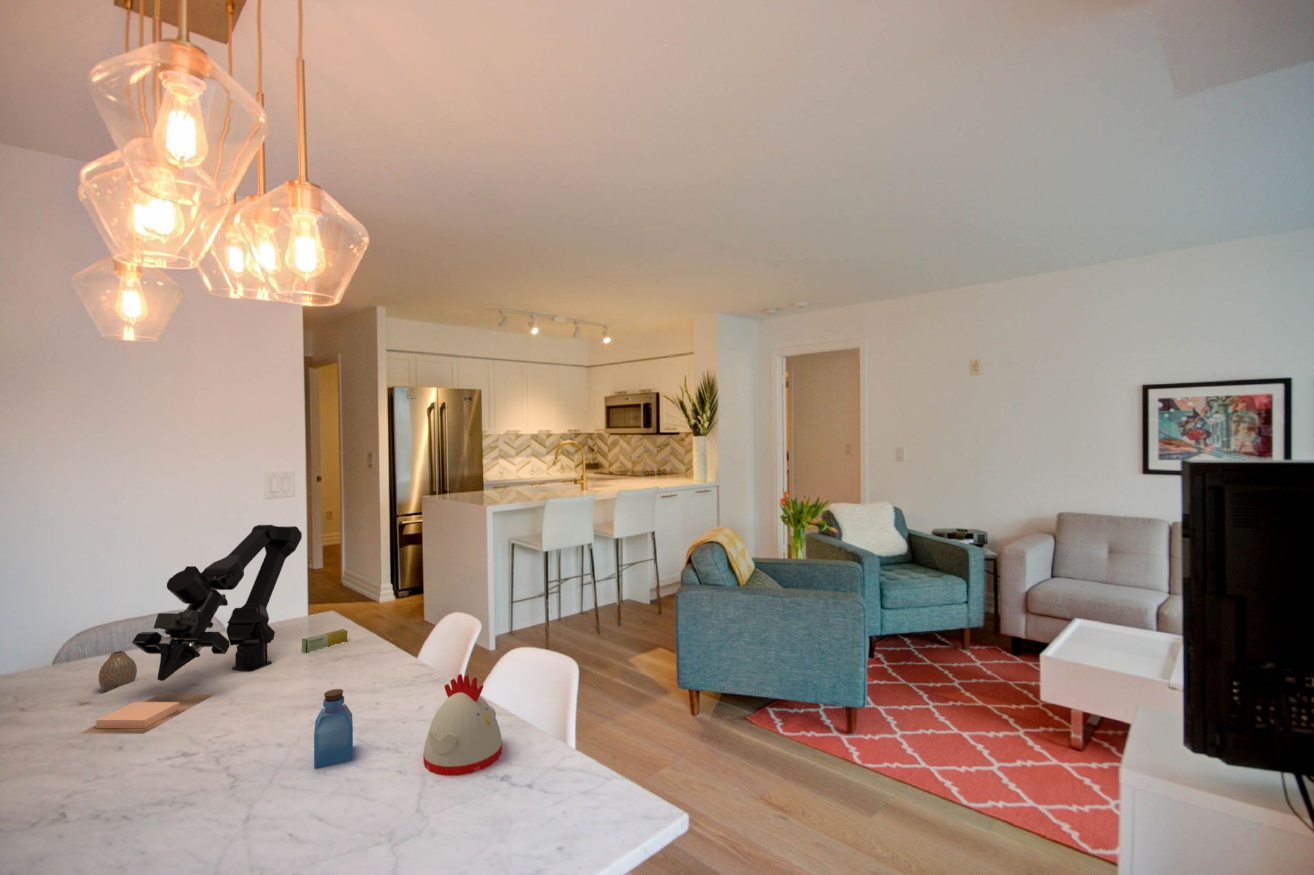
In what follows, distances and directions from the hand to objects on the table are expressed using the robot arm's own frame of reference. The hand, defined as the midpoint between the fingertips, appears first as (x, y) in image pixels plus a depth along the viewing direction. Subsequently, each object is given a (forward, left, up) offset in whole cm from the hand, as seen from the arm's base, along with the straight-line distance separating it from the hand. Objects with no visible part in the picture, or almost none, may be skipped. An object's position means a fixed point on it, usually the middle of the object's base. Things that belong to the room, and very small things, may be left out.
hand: (160, 680), depth 132 cm
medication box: (-45, -1, -8) cm, 46 cm away
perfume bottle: (+4, +51, -8) cm, 51 cm away
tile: (+1, 0, -5) cm, 5 cm away
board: (+2, +1, -8) cm, 8 cm away
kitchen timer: (-3, +74, -8) cm, 74 cm away
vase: (-8, -25, -8) cm, 28 cm away
